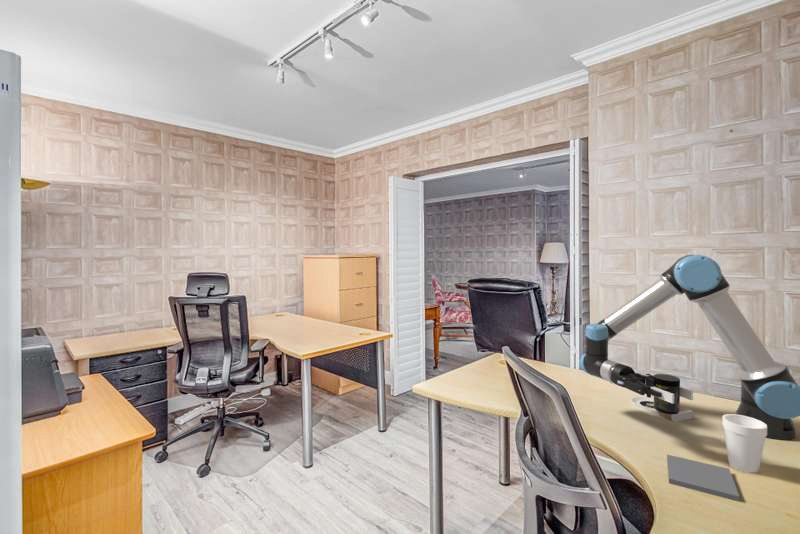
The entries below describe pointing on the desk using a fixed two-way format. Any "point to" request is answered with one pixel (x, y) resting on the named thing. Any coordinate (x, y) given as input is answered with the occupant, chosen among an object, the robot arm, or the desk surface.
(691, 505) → the desk surface
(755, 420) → the foam cup
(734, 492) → the mat
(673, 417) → the record player
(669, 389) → the supplement container
